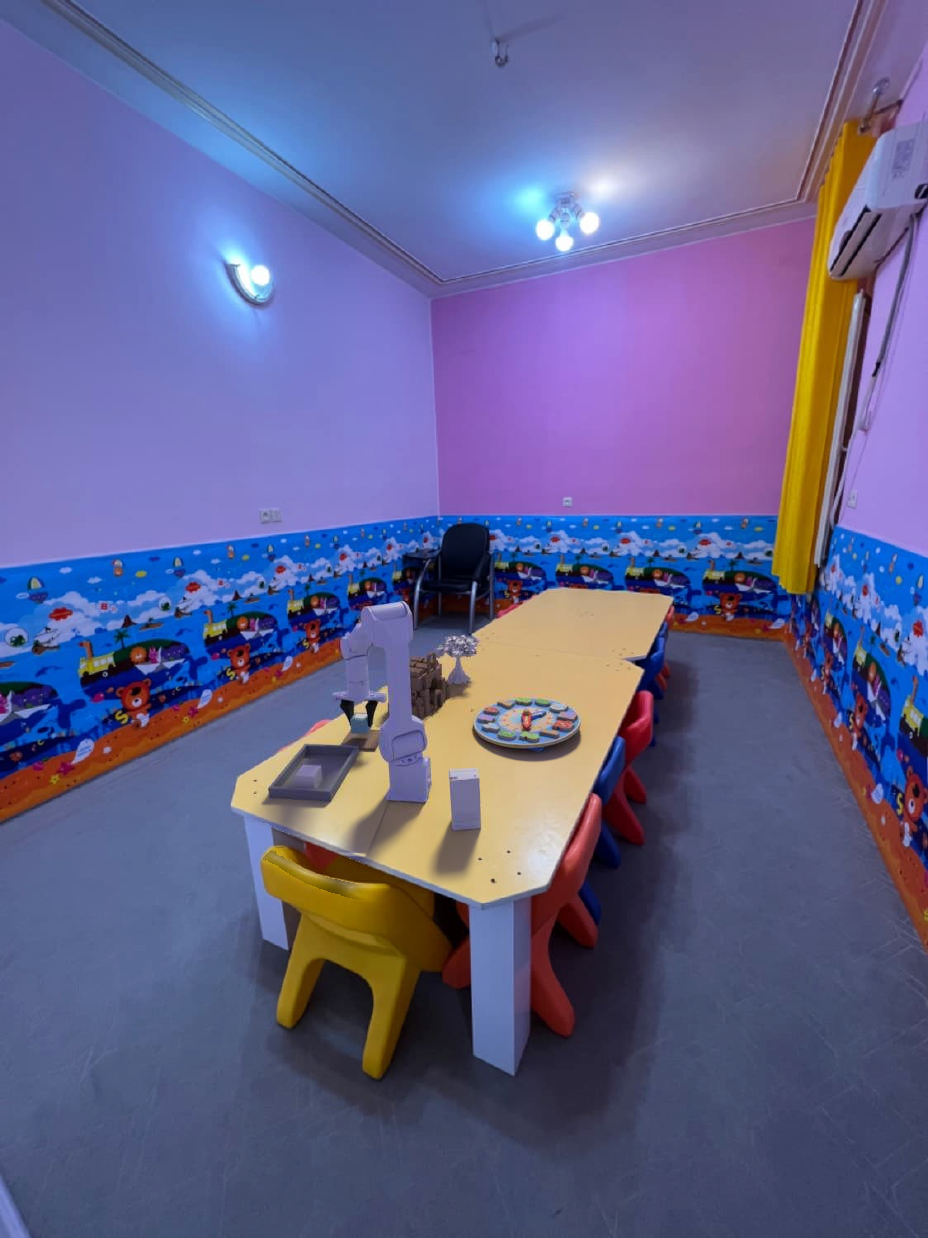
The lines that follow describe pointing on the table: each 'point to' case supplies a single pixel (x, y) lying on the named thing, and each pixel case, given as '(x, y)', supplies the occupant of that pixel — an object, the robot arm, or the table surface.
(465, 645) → the tree
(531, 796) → the table surface
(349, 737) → the pad
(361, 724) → the labelled block
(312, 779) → the plain block
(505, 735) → the shape sorting clock
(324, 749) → the bin
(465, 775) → the skincare box
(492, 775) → the table surface
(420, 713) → the brown wooden block structure
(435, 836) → the table surface
